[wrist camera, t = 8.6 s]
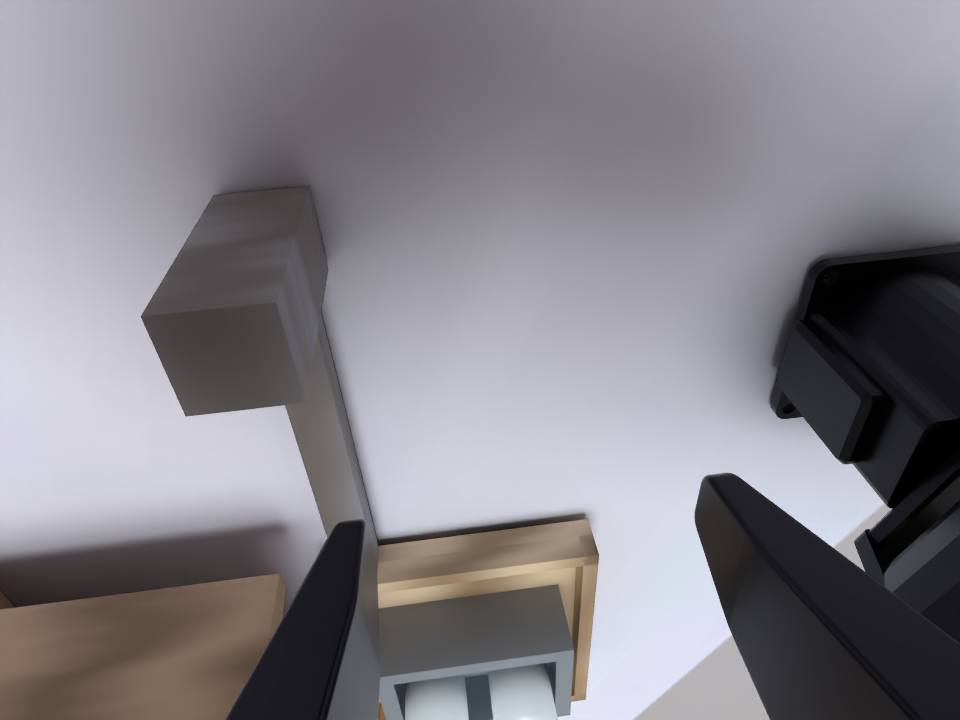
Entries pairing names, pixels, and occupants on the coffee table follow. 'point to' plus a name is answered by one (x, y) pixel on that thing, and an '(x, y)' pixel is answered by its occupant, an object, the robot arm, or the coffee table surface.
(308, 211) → the shallow wooden box
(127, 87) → the coffee table surface
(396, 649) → the tray
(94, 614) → the wooden stand
